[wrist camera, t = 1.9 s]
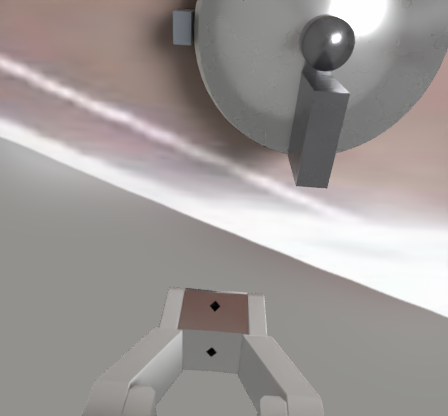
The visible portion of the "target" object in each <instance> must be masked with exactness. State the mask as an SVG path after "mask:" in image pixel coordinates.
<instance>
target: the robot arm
mask: <svg viewBox="0 0 448 416" xmlns="http://www.w3.org/2000/svg"><path fill="white" fill-rule="evenodd" d="M266 328H267V327H266V313H265V299H264V295H263V294H258V293H242V292H227V291H212V290H202V289H192V288H179V287H169V289H168V292H167V296H166V301H165V304H164V308H163V313H162V317H161V320H160V324H159V328H153V329H152V330H151V331H150V332H148V333H147V334H146V335H145V336H144V337H143V338H142V339H141V340H140V341H138V342H137V343H136V344H135V345H134V346H133V347H132V348H131V349H130V350H128V351H127V352H126V353H125V354H124V355H123V356H122V357H121V358H119V359H118V360H117V361H116V362H115V363H114V364H113V365H112V366H111V367H110V368H108V369H107V370H106V371H105V372H104V373H103V374H102V375H101V376H100V377H98V378H97V379H96V380H95V383H94V385H93V388H92V390H91V393H90V395H89V398H88V401H87V403H86V406H85V408H84V411H83V414H82V416H156V405H157V403H158V402H159V401H160V400H161V398H162V397H163V396H164V394H165V393H166V392H167V391H168V389H169V388H170V387H171V385H172V384H173V383H174V382H175V380H176V379H177V378H178V377H179V375H180V374H181V373H182V370H200V371H215V372H224V373H234V374H238V377H239V379H240V381H241V382H242V384H243V386H244V388H245V390H246V392H247V394H248V395H249V397H250V399H251V401H252V403H253V405H254V406H255V408H256V410H257V412H258V413H257V416H324V411H323V406H322V400H321V398H320V397H319V395H318V394H317V393H316V392H315V391H314V389H313V388H312V386H311V385H310V384H309V383H308V381H307V380H306V379H305V378H304V377H303V375H302V374H301V373H300V371H299V370H298V369H297V368H296V366H295V365H294V364H293V363H292V361H291V360H290V359H289V358H288V356H287V355H286V354H285V353H284V351H283V350H282V349H281V348H280V347H279V345H278V344H277V342H276V341H275V340H274V339H273V338H272V337H269V336H267V329H266Z"/></svg>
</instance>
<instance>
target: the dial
mask: <svg viewBox="0 0 448 416" xmlns="http://www.w3.org/2000/svg"><path fill="white" fill-rule="evenodd" d="M447 49H448V0H203V1H202V6H201V11H200V20H199V51H200V58H201V64H202V68H203V72H204V75H205V79H206V82H207V84H208V87H209V89H210V91H211V94H212V96H213V98H214V99H215V101H216V103H217V104H218V106H219V108H220V109H221V111H222V112H223V113H224V115H225V116H226V117H227V118H228V120H229V121H230V122H231V123H232V124H233V125H234V126H235V127H236V128H237V129H238V130H239V131H241V132H242V133H243V134H245V135H246V136H247V137H249V138H250V139H252V140H253V141H255V142H257V143H259V144H260V145H262V146H265V147H267V148H270V149H272V150H275V151H279V152H282V153H286V154H288V158H289V162H290V165H291V169H292V173H293V177H294V181H295V184H296V186H303V187H316V188H327V186H328V182H329V178H330V174H331V170H332V166H333V162H334V158H335V154H336V153H337V152H342V151H345V150H348V149H351V148H354V147H357V146H359V145H361V144H363V143H365V142H367V141H370V140H371V139H373V138H375V137H376V136H378V135H380V134H381V133H383V132H385V131H386V130H387V129H389V128H390V127H391V126H392V125H394V124H395V123H396V122H398V121H399V120H400V119H401V118H402V117H403V116H404V115H405V114H406V113H407V112H408V111H409V110H410V109H411V108H412V107H413V106H414V105H415V104H416V102H417V101H418V100H419V99H420V98H421V96H422V95H423V94H424V92H425V91H426V89H427V88H428V86H429V85H430V84H431V82H432V80H433V78H434V77H435V75H436V73H437V71H438V69H439V68H440V66H441V63H442V61H443V59H444V56H445V54H446V51H447Z"/></svg>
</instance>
